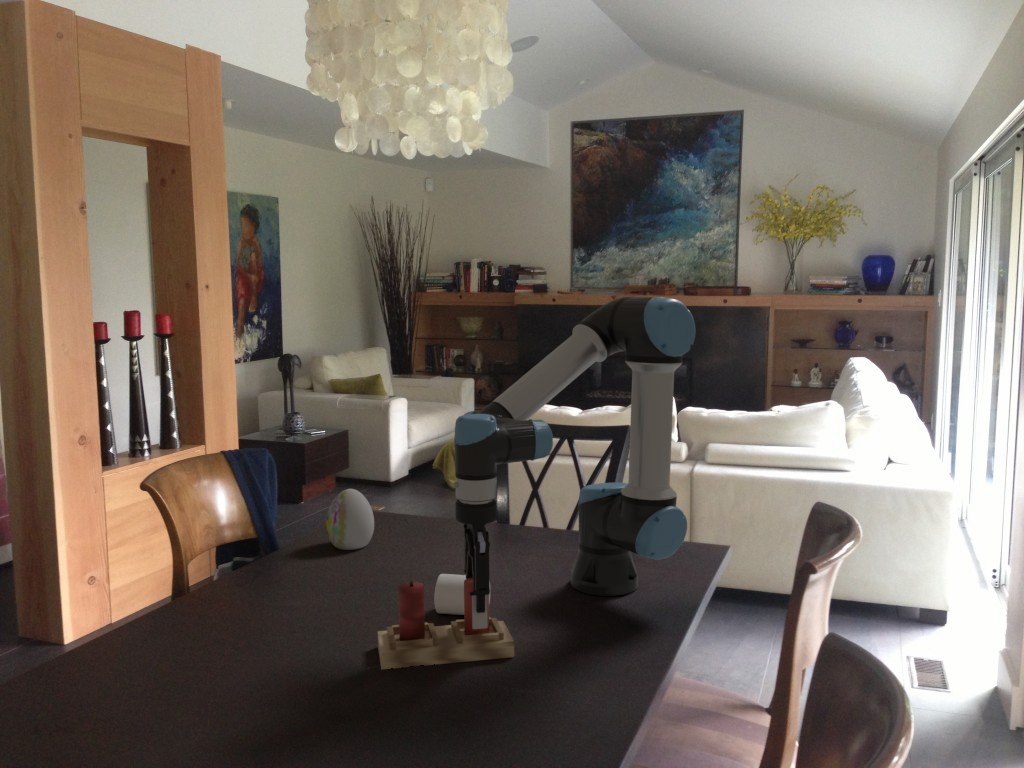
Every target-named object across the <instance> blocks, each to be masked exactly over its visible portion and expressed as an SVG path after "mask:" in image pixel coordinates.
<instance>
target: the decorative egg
mask: <svg viewBox="0 0 1024 768" xmlns="http://www.w3.org/2000/svg"><path fill="white" fill-rule="evenodd" d="M325 524H326V527H325V528H326V533H327V536H328V539H329V541H330V543H331V545H333V546H334V547H335V548H336V549H339V550H343V551H353V550H354V551H355V550H359V549H363V548H365V547H366V546H367V545H368V544H369V543H370V542H371V539H372V537H373V535H374V531H375V516H374V513H373V509H372V506H371V504H370V503H369V501H368V499H367V498H366V497H365V495H363V493H361V492H360V491H359V490H357V489H354V488H347V489H344V490H342V491H340V492H339V493H338V494H337V495H336V496H335V497H334V498H333V500H332V502H331V504H330V506H329V508H328V511H327V515H326V523H325Z"/></svg>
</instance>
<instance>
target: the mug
mask: <svg viewBox="0 0 1024 768" xmlns="http://www.w3.org/2000/svg"><path fill="white" fill-rule="evenodd" d="M464 580H466V574H453V573H451V574H450V573H440V574H439V575H438V577H437V579H436V581H435V582H436V583H435V587H434V588H435V589H434V597H433V599H434V602H433V603H434V608H435V611H436V613H438V614H445V615H446V614H447V615H457V616H464ZM490 581H491V580H489V588H490V589H491V582H490ZM490 603H491V593H490V594H489V605H490Z"/></svg>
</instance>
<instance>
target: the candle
mask: <svg viewBox="0 0 1024 768" xmlns="http://www.w3.org/2000/svg"><path fill="white" fill-rule="evenodd" d="M469 592H473V577H472V578H468V579H466V580H464V615H463V616H464V617H463V618H464V634H465V635H475V634H486V633H489V617H490V604H489V595H487V628H483V629H472V596H470V594H469Z"/></svg>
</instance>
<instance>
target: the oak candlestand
mask: <svg viewBox="0 0 1024 768" xmlns="http://www.w3.org/2000/svg"><path fill="white" fill-rule="evenodd" d="M425 616H426V615H425V584H423V583H422V582H417V581H413V580H411V581H407V582H403V583H400V584H399V586H398V618H399V619H398V620H399V621H398V623H399V624H393V625H391V626H387V627H386V630H377V649H378V650H377V651H378V657H379V663H380V664H379V665H380V670H389V669H390V670H391V668H393V669H401V668H402V667H403V668H411V667H410V666H414V667H421V666H420V665H424V666H432V665H433V666H434V664H435V665H444V664H454V663H465V662H475V661H486V660H495V659H497V660H498V659H507V658H515V640H514V638H513V636H512V634H511V633H510V630H509V629H508V627H507V625H506V624H505V622H504V620H498V619H497V618H496V617H491V616H489V633H486V634H475V635H465V634H464V619H455V620H453V621H452V620H451V621H450V624H448V625H447V624H445V625H436V626H435V624H434V622H429V623H428V622H427V621H425Z"/></svg>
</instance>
